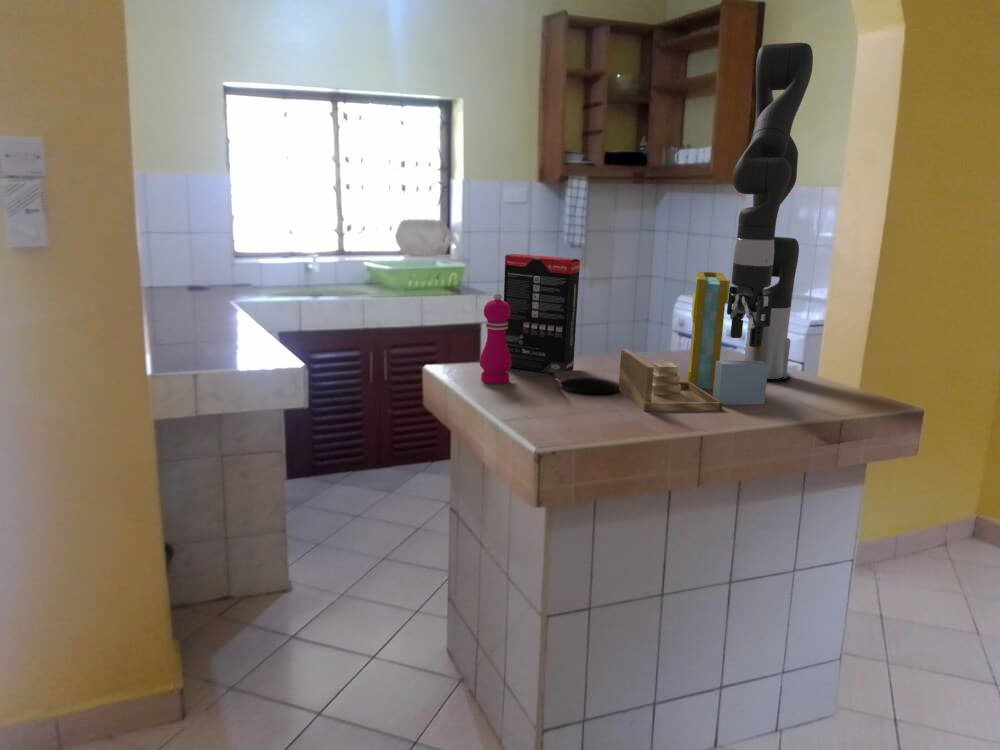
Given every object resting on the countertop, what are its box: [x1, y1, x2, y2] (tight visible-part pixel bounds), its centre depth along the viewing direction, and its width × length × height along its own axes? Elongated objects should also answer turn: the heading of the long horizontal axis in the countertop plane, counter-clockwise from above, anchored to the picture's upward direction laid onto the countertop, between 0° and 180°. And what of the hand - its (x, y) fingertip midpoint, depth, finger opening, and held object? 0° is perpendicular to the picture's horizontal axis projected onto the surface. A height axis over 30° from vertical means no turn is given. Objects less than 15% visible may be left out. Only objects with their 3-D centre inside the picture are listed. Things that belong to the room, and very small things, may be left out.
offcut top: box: [652, 362, 679, 376], centre depth 171 cm, size 4×4×2 cm
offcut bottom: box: [652, 384, 681, 395], centre depth 172 cm, size 6×4×2 cm, turn 99°
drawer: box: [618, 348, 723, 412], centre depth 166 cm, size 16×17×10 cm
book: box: [687, 271, 731, 391], centre depth 182 cm, size 17×7×25 cm, turn 168°
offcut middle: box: [653, 372, 680, 386], centre depth 172 cm, size 5×4×2 cm
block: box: [712, 360, 769, 406], centre depth 165 cm, size 10×3×9 cm, turn 99°
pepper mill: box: [479, 292, 512, 385], centre depth 180 cm, size 7×7×20 cm
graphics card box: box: [503, 253, 581, 375], centre depth 191 cm, size 17×7×27 cm, turn 65°
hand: (745, 342), depth 163 cm, fingers open, 8 cm apart
